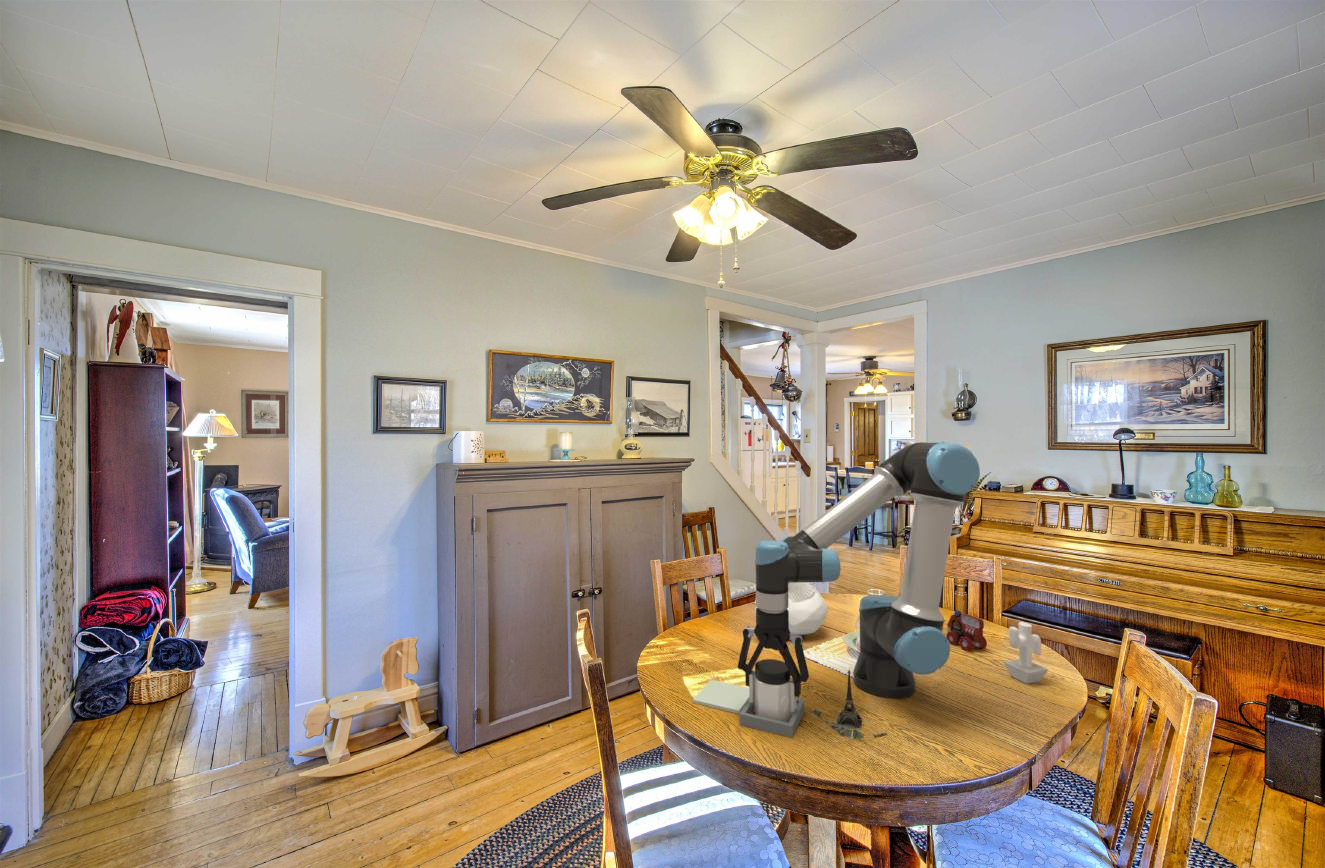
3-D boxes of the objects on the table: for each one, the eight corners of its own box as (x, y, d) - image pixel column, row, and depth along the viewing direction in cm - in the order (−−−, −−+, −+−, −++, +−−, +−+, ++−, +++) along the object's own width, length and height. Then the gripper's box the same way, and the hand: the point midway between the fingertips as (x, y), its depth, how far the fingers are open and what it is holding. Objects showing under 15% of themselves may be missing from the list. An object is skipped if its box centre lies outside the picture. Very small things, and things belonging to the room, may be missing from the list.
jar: (771, 731, 118) (771, 677, 118) (746, 715, 125) (746, 664, 125) (799, 719, 123) (799, 667, 123) (774, 704, 130) (773, 655, 130)
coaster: (754, 692, 136) (754, 689, 136) (739, 714, 126) (739, 710, 126) (710, 682, 142) (710, 679, 142) (692, 702, 131) (692, 699, 131)
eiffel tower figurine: (808, 712, 127) (808, 656, 127) (843, 705, 131) (842, 650, 131) (852, 746, 113) (851, 683, 113) (889, 737, 117) (888, 676, 117)
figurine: (1052, 682, 140) (1051, 626, 141) (1024, 687, 138) (1024, 629, 138) (1026, 671, 147) (1025, 617, 148) (1000, 675, 145) (999, 620, 145)
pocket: (804, 710, 127) (804, 699, 127) (792, 737, 115) (792, 726, 115) (756, 699, 132) (755, 689, 132) (739, 724, 121) (739, 713, 121)
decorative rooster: (817, 603, 187) (772, 549, 187) (843, 608, 172) (794, 549, 172) (770, 655, 179) (723, 599, 179) (793, 665, 164) (742, 604, 164)
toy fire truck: (958, 637, 172) (957, 605, 172) (991, 652, 161) (991, 618, 161) (940, 640, 170) (940, 607, 170) (973, 655, 159) (973, 620, 159)
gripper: (822, 610, 123) (823, 707, 122) (733, 597, 132) (733, 688, 132) (816, 620, 116) (817, 723, 116) (722, 606, 126) (723, 701, 125)
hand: (772, 704), depth 124 cm, fingers closed on jar, 9 cm apart
